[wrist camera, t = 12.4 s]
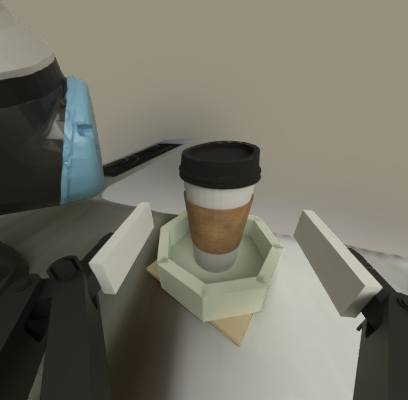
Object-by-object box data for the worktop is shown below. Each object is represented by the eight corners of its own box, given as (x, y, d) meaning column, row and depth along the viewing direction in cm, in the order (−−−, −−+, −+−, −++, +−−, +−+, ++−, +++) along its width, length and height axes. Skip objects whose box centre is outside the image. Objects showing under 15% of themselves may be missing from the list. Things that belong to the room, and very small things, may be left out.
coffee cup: (256, 254, 23) (281, 146, 16) (218, 297, 18) (229, 164, 11) (212, 228, 28) (215, 137, 21) (173, 255, 23) (159, 146, 16)
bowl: (140, 272, 22) (132, 245, 20) (204, 219, 33) (204, 198, 31) (242, 358, 15) (250, 333, 12) (282, 253, 25) (291, 228, 23)
